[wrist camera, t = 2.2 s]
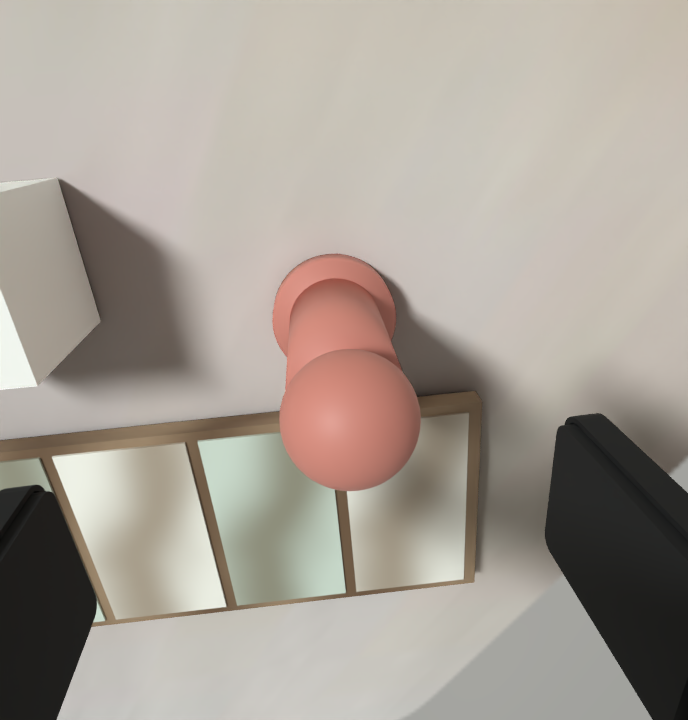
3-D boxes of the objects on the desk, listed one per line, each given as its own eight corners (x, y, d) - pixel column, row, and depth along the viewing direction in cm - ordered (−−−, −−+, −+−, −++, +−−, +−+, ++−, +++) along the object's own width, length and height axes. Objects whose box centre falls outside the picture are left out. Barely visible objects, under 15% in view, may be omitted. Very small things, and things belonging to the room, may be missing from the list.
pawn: (389, 248, 18) (460, 357, 10) (393, 359, 20) (456, 527, 12) (266, 259, 18) (235, 381, 10) (282, 370, 20) (268, 549, 12)
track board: (475, 390, 21) (483, 403, 20) (468, 567, 25) (474, 583, 25) (-98, 450, 20) (-116, 466, 20) (-5, 621, 25) (-16, 641, 24)
